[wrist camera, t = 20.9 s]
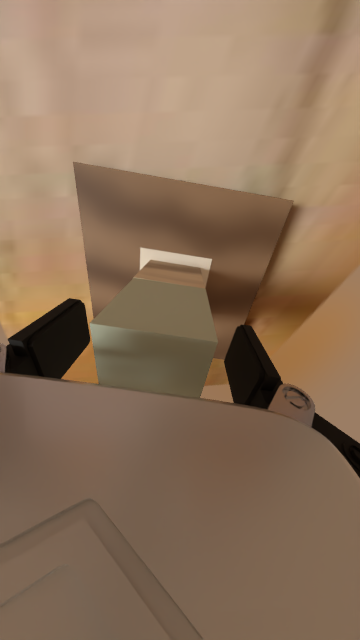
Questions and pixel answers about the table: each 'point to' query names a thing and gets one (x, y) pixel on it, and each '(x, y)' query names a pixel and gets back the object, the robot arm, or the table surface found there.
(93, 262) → the walnut board
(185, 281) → the maple block
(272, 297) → the table surface
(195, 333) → the sage block
